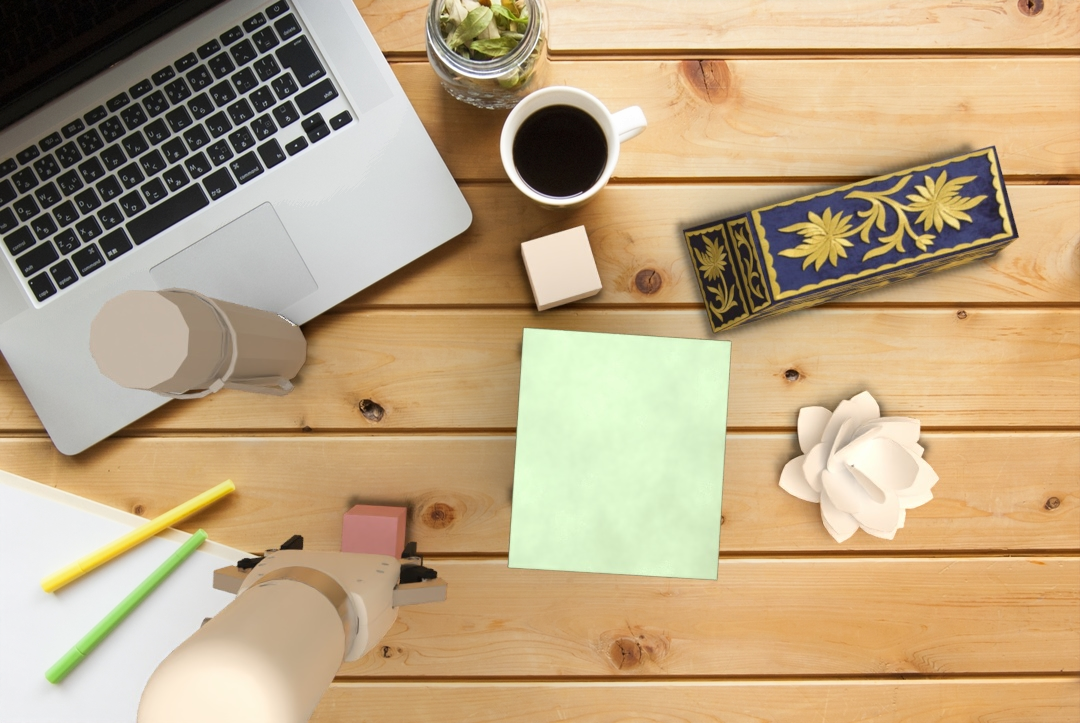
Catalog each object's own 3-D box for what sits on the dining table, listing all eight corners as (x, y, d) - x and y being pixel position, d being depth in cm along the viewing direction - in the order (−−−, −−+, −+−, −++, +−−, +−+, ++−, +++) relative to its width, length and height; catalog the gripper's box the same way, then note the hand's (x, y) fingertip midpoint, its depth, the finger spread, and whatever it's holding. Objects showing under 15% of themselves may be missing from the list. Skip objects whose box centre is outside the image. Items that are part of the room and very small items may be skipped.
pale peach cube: (538, 311, 73) (539, 306, 67) (521, 254, 73) (520, 243, 67) (596, 294, 73) (602, 287, 67) (579, 237, 73) (583, 224, 67)
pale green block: (654, 512, 73) (717, 580, 49) (513, 503, 72) (507, 568, 48) (664, 351, 73) (732, 340, 49) (524, 342, 73) (523, 327, 49)
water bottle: (218, 348, 72) (55, 335, 47) (278, 295, 72) (148, 254, 47) (280, 418, 72) (150, 442, 47) (340, 365, 72) (242, 361, 47)
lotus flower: (767, 398, 73) (811, 397, 64) (905, 387, 75) (966, 384, 66) (780, 544, 72) (827, 562, 63) (920, 528, 74) (983, 544, 65)
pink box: (402, 568, 72) (393, 582, 67) (352, 565, 72) (338, 579, 67) (406, 507, 72) (398, 517, 67) (356, 504, 72) (343, 514, 67)
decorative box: (682, 230, 73) (704, 210, 64) (968, 153, 74) (1029, 122, 65) (711, 334, 73) (737, 328, 64) (997, 255, 74) (1062, 239, 65)
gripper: (147, 683, 45) (250, 594, 62) (427, 698, 45) (454, 605, 63) (154, 561, 45) (256, 506, 62) (435, 578, 45) (459, 518, 63)
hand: (355, 556), depth 62 cm, fingers open, 9 cm apart
